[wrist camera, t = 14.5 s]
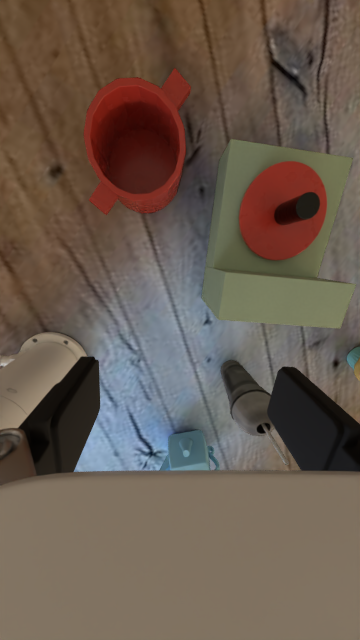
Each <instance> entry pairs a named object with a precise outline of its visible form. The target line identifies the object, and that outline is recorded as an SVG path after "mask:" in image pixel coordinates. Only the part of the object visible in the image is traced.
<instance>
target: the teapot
mask: <svg viewBox="0 0 360 640" xmlns="http://www.w3.org/2000/svg"><path fill="white" fill-rule="evenodd" d="M209 451H212V452H209ZM213 454H214V448H213V447H212V446H208V447H207V444H206V440H205V437H204V435H203V433H202V431H201V430H194V431H190V432H184V433H179V434H173V435H170V436H169V439H168V455H167V457H166V459H165V461H164V463H163V464H162V466H161V468H160V470H159V471H168V470H210V460H209V458H210V459H211V460H212V461H213V462H214V463H215V465H216V469H215V470H220V465H219V462H218V461H217V459H216V458H215V457H214V456H213Z"/></svg>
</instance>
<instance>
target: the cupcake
mask: <svg viewBox="0 0 360 640" xmlns="http://www.w3.org/2000/svg"><path fill="white" fill-rule="evenodd" d="M347 362H348V364H349V365H350V366H351V367H352V368H353V369H354V374H355V376H356V377H357V379H358V380H359V381H360V347H356V348H354V349H352V350H351V351H350V352H349V354H348V356H347Z"/></svg>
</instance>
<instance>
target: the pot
mask: <svg viewBox="0 0 360 640" xmlns="http://www.w3.org/2000/svg"><path fill="white" fill-rule="evenodd" d="M190 90H191V86H190V85H189V84H188V83H187V82H186V80H185V79H184V78H183V77H182V76H181V74H180V73H179V72H178V71H177V70H176V68H174V70H173V71H172V73H171V74H170V76H169V77H168V79H167V80H166V82H165V83H164V85H163V86H162V88H159V87H158V86H156V85H154V84H152V83H150V82H148V81H145V80H143V79H141V78H138V77H136V78H118V79H116V80H114V81H113V82H111V83H109V84H108V85H106V86H105V87H103V88H102V89H100V90H99V91H98V93H97V95H96V96H95V98H94V100H93V101H92V103H91V105H90V106H89V108H88V111H87V115H86V122H85V129H84V139H85V145H86V150H87V155H88V160H89V161H90V163H91V165H92V167H93V169H94V171H95V172H96V174H97V176H98V178H99V179H100V181H101V182H100V183H99V185H98V186H97V188H96V190H95V191H94V193H93V194H92V196H91V197H90V199H89V201H90V202H91V203H93V204H94V205H95V206H96V207H97V208H98V209H100V210H101V211H102V212H103V213H104V214H106V215H107V214H108V213H109V211H110V210H111V208H112V207H113V205H114V204H115V202H116V201H117V200H119V201H120V202H121V203H122V204H123V205H125V206H126V207H127V208H129V209H131V210H133V211H136V212H140V213H153V212H156V211H159V210H161V209H163V208H164V207H166V206H167V205H168V204H169V203H170V202H171V200H172V199H173V198H174V196H175V195H176V193H177V190H178V187H179V183H180V180H181V175H182V170H183V165H184V160H185V155H186V145H185V129H184V126H183V123H182V121H181V118H180V116H179V113H178V110H179V109H180V108H181V106H182V105H183V103H184V102H185V100H186V99H187V97H188V96H189V94H190Z"/></svg>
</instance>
